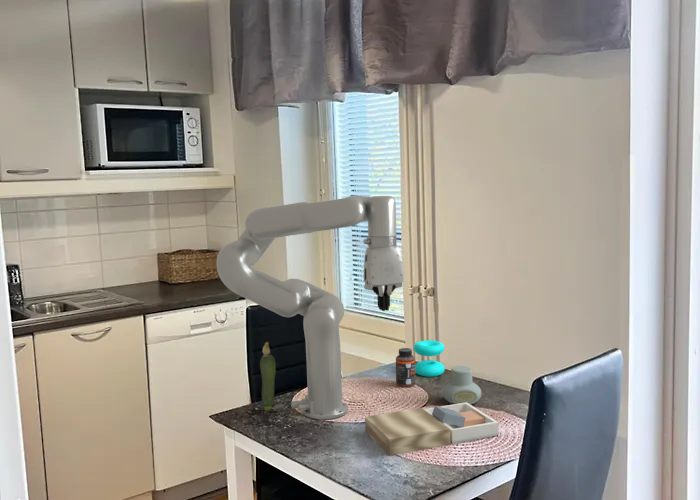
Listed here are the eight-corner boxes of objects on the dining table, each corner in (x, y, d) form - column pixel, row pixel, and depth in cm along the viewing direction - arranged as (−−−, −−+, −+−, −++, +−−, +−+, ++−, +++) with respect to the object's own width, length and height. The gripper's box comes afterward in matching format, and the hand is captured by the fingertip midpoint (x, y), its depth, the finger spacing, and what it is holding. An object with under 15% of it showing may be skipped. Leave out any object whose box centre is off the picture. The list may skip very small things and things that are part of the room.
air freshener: (477, 397, 202) (477, 363, 201) (484, 407, 194) (484, 372, 193) (440, 398, 202) (440, 365, 201) (445, 408, 194) (444, 373, 193)
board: (389, 455, 164) (389, 439, 163) (365, 431, 179) (365, 416, 178) (450, 444, 169) (450, 428, 169) (421, 422, 184) (421, 407, 184)
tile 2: (484, 418, 178) (484, 427, 178) (473, 410, 183) (473, 419, 184) (463, 421, 176) (463, 430, 176) (452, 413, 181) (452, 422, 182)
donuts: (450, 344, 223) (422, 348, 219) (450, 374, 224) (423, 379, 220) (434, 337, 232) (407, 341, 228) (434, 367, 233) (408, 371, 229)
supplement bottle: (414, 388, 212) (413, 352, 210) (394, 387, 213) (394, 351, 211) (416, 382, 217) (415, 347, 216) (397, 381, 219) (396, 346, 217)
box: (452, 444, 169) (452, 430, 169) (423, 422, 184) (423, 409, 184) (498, 435, 174) (498, 422, 173) (466, 414, 189) (466, 402, 188)
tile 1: (442, 422, 174) (445, 413, 174) (431, 414, 179) (434, 405, 179) (462, 427, 176) (465, 417, 176) (451, 419, 181) (454, 410, 181)
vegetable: (262, 407, 199) (259, 339, 196) (277, 406, 199) (274, 338, 197) (261, 413, 194) (258, 343, 192) (277, 412, 195) (274, 342, 192)
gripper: (361, 245, 180) (363, 315, 182) (413, 241, 185) (414, 309, 187) (351, 242, 187) (353, 309, 189) (402, 239, 192) (403, 304, 194)
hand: (383, 309), depth 188 cm, fingers closed
